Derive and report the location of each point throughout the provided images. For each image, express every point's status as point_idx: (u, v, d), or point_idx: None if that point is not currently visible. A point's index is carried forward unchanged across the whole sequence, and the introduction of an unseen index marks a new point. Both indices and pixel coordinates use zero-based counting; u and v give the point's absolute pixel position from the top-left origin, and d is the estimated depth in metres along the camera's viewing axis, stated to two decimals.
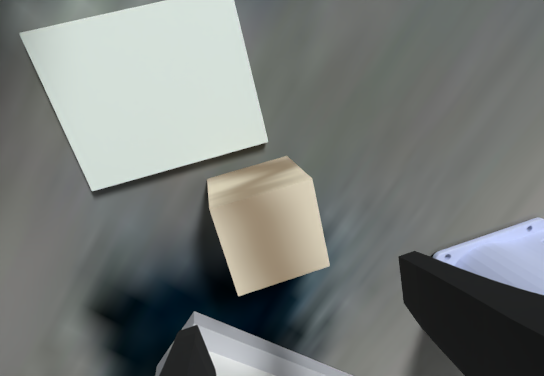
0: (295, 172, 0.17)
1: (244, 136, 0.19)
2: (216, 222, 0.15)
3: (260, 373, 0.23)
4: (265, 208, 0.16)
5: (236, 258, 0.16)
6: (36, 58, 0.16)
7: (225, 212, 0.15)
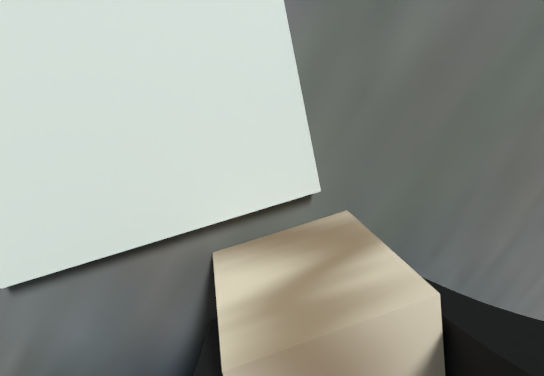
0: (387, 265, 0.09)
1: (280, 183, 0.11)
2: None
3: None
4: (341, 356, 0.07)
5: None
6: None
7: (256, 373, 0.07)
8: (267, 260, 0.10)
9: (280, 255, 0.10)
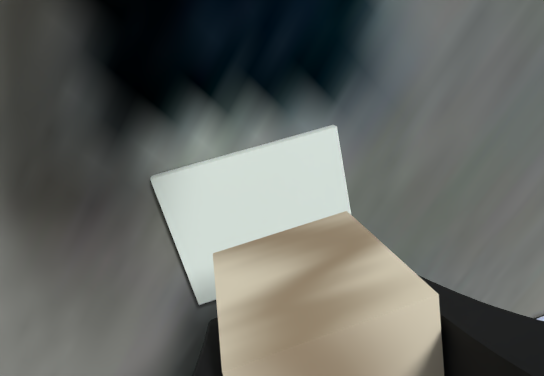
0: (386, 265, 0.09)
1: None
2: None
3: None
4: (340, 356, 0.07)
5: None
6: (162, 198, 0.17)
7: (255, 373, 0.07)
8: (267, 261, 0.10)
9: (280, 256, 0.10)
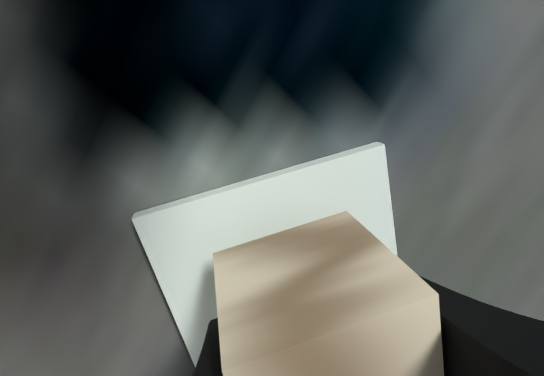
0: (386, 265, 0.09)
1: None
2: None
3: None
4: (340, 356, 0.07)
5: None
6: (149, 244, 0.12)
7: (256, 373, 0.07)
8: (267, 260, 0.10)
9: (280, 255, 0.10)
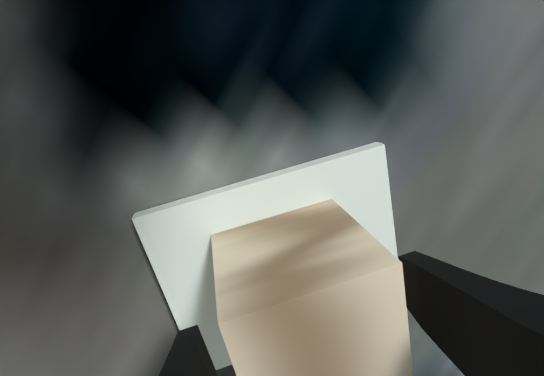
0: (361, 242, 0.10)
1: None
2: (230, 343, 0.09)
3: None
4: (318, 314, 0.09)
5: None
6: (149, 244, 0.12)
7: (246, 326, 0.08)
8: (259, 240, 0.12)
9: (270, 235, 0.12)
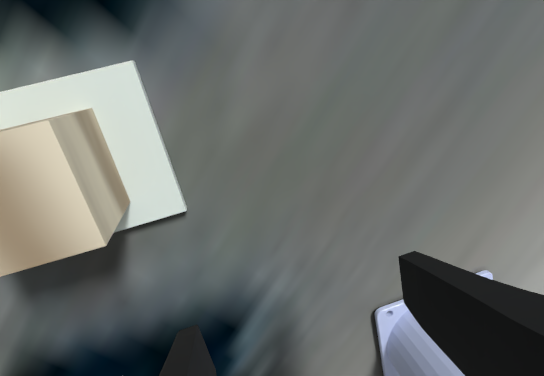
0: (52, 118, 0.13)
1: (160, 206, 0.18)
2: None
3: None
4: None
5: None
6: None
7: None
8: None
9: (12, 127, 0.14)
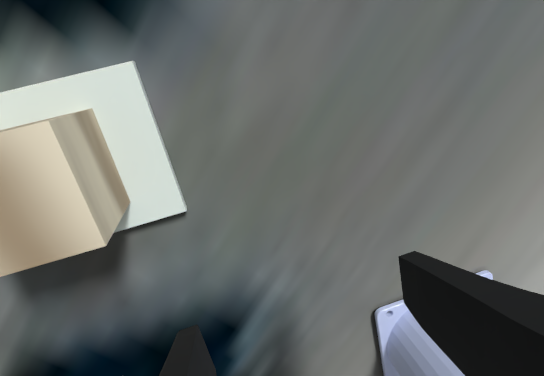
0: None
1: (160, 207, 0.18)
2: None
3: None
4: None
5: None
6: None
7: None
8: (1, 130, 0.14)
9: (12, 127, 0.14)
